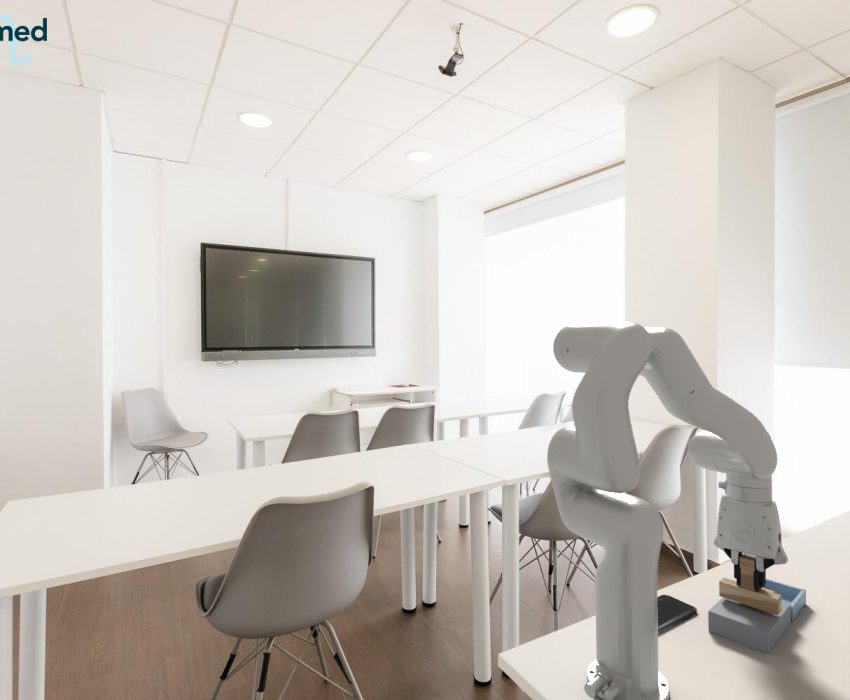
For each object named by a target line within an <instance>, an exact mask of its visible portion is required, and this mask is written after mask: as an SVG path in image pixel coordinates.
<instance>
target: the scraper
mask: <svg viewBox="0 0 850 700" xmlns="http://www.w3.org/2000/svg"><path fill="white" fill-rule="evenodd" d="M740 568H741V585H740V586H738V585H737V580H734V579H731V578H728V577H722V578H721V579H720V580H719V582H718V583H719V586H718V587H719V589H718V593H719V597H720V598H723V597H724V598H727V599H730V600H733V601H736V602H739V603H742V604H745V605H748V606H751V607H754V608H757V609H760V610H763V611H766V612H769V613H772V614H775V615H779V613H780V612H781V611H782V595H780V594H777V593H773V592H770V591H767V590H763V589H760V590H759V591H758V592H757V591H755V589H754V580H753V571H755V570H756V556H753V555H749V554H746V553H743V555H742V556H741V557H740Z"/></svg>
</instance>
